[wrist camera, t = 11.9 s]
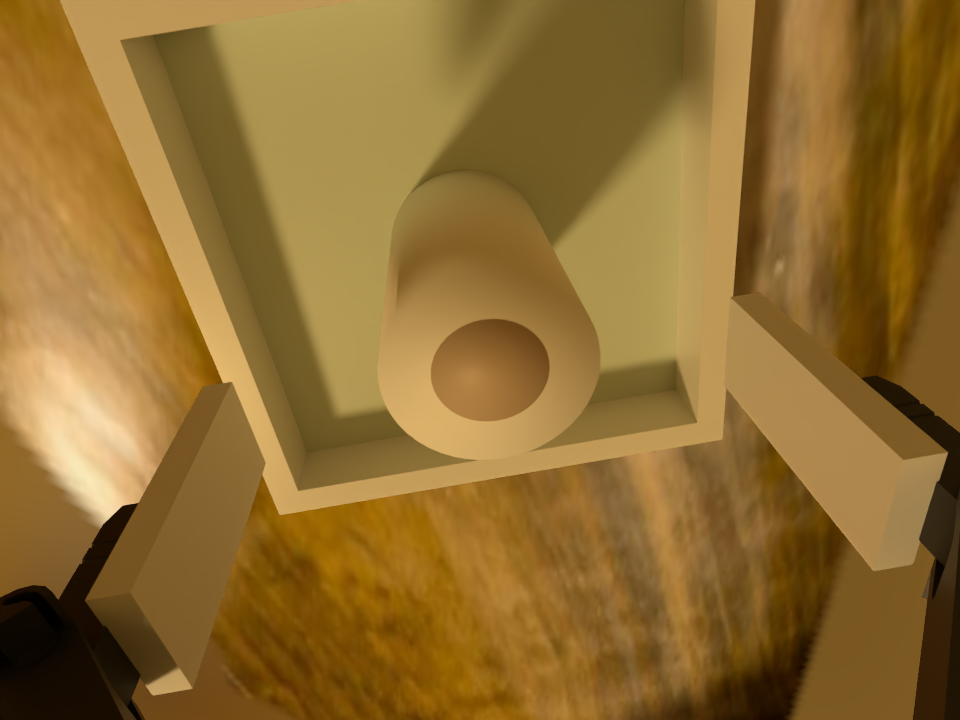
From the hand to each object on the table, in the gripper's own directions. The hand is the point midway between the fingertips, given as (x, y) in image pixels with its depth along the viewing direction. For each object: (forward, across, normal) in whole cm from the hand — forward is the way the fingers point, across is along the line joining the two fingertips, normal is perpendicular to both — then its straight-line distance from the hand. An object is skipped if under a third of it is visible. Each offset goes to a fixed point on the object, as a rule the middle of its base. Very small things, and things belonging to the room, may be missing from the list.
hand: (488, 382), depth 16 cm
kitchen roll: (+10, 0, 0) cm, 10 cm away
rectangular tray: (+11, 0, 0) cm, 11 cm away
